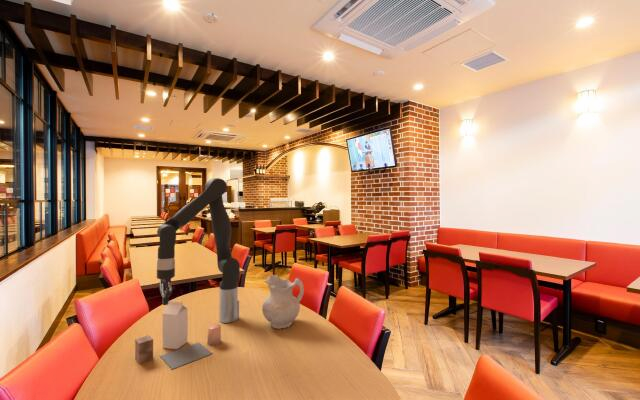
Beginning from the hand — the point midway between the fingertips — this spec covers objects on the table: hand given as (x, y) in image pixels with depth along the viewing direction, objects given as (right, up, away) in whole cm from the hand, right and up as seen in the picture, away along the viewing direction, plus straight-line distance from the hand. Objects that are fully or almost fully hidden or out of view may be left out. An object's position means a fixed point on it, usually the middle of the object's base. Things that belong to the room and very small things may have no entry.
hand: (165, 304), depth 138 cm
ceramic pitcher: (+53, -15, +14) cm, 57 cm away
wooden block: (+2, -15, -20) cm, 25 cm away
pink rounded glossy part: (+25, -15, -6) cm, 30 cm away
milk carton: (+9, -15, -8) cm, 19 cm away
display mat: (+17, -15, -16) cm, 28 cm away
